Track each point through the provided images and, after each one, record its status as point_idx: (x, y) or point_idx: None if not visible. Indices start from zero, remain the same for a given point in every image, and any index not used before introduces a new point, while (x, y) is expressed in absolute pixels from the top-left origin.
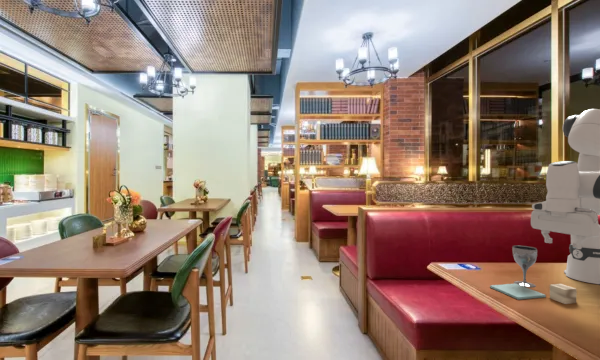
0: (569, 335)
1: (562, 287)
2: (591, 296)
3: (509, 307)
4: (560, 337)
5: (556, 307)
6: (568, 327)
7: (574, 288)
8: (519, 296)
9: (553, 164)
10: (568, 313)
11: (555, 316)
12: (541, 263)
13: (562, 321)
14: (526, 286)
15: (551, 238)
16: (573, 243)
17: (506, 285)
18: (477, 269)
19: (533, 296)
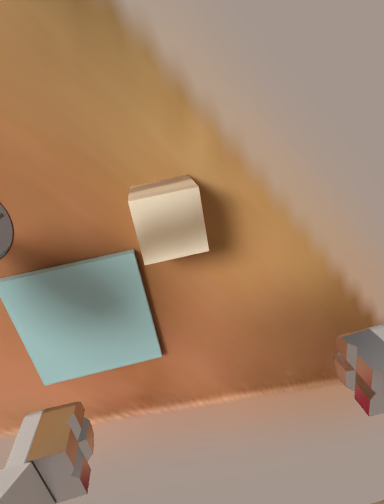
0: None
1: (181, 238)
2: (109, 12)
3: (216, 397)
4: None
5: (223, 279)
6: (331, 336)
7: (194, 193)
8: (154, 349)
9: None
10: (265, 277)
11: (277, 325)
12: None
13: (304, 328)
14: (6, 243)
15: (70, 460)
16: (372, 410)
17: (33, 332)
18: None
19: (147, 302)
